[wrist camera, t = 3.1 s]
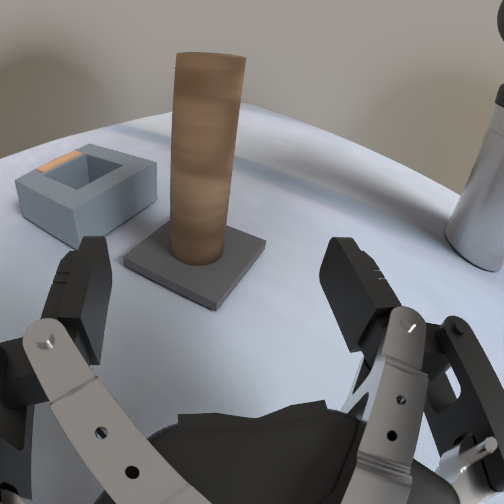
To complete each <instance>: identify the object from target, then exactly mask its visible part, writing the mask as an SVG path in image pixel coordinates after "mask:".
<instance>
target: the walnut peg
mask: <svg viewBox="0 0 504 504" xmlns="http://www.w3.org/2000/svg"><path fill="white" fill-rule="evenodd" d="M245 63H246V57H242V56H236V55H229V54H219V53H201V52H187V53H177V56H176V67H175V80H174V95H173V97H174V98H173V113H172V136H171V177H170V222H171V252H172V254H173V256H174V257H175V258H176V259H177V260H179V261H181V262H182V263H185V264H188V265H195V266H202V265H208V264H211V263H214V262H216V261H217V260H219V259H220V258H221V256H222V255H223V252H224V242H225V232H226V222H227V213H228V203H229V194H230V185H231V176H232V167H233V158H234V150H235V142H236V133H237V125H238V117H239V109H240V101H241V94H242V86H243V78H244V71H245Z"/></svg>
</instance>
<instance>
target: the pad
mask: <svg viewBox="0 0 504 504" xmlns="http://www.w3.org/2000/svg"><path fill="white" fill-rule="evenodd" d="M265 245H266V240H263V239H260V238H258V237H255V236H253V235H250V234H247V233H245V232H242V231H240V230H237V229H234V228H232V227H229V226H226V232H225V242H224V252H223V255H222V256H221V258H220V259H219V260H217V261H216V262H214V263H211V264H208V265H202V266H195V265H188V264H185V263H182V262H181V261H179V260H177V259H176V258H175V257H174V256H173V254H172V252H171V222H170V221H168V222H167V223H166V224H164V225H163V226H162V227H161V228H159V229H158V230H157V231H155V232H154V233H153V234H152V235H150V236H149V237H148V238H146V239H145V240H144V241H143V242H141V243H140V244H139V245H138V246H136V247H135V248H134V249H133V250H131V251H130V252H129V253H128V254H126V255H125V256H124V257H123V259H124V265H125V266H127V267H129V268H131V269H132V270H134V271H136V272H138V273H140V274H142V275H144V276H146V277H148V278H150V279H152V280H154V281H156V282H157V283H159V284H161V285H163V286H165V287H167V288H169V289H171V290H173V291H175V292H177V293H179V294H181V295H183V296H185V297H187V298H189V299H192V300H194V301H196V302H198V303H200V304H202V305H204V306H206V307H208V308H210V309H212V310H214V311H217V310H218V308H219V307H220V306H221V305H222V303H223V302H224V301H225V299H226V298H227V297H228V296H229V294H230V293H231V292H232V290H233V289H234V288H235V287H236V285H237V284H238V283H239V281H240V280H241V279H242V277H243V276H244V275H245V274H246V272H247V271H248V270H249V268H250V267H251V266H252V265H253V263H254V262H255V261H256V259H257V258H258V257H259V255H260V254H261V253H262V252H263V250H264V249H265Z"/></svg>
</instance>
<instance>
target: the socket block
mask: <svg viewBox="0 0 504 504" xmlns="http://www.w3.org/2000/svg"><path fill="white" fill-rule="evenodd" d="M15 184H16V189H17V193H18V197H19V201H20V205H21V209H22V213H23V216H24V217H25V218H27V219H28V220H30V221H31V222H33V223H34V224H36V225H38V226H39V227H41V228H42V229H44V230H45V231H47V232H48V233H50V234H52V235H53V236H55V237H56V238H58V239H60V240H61V241H63V242H65V243H66V244H68V245H69V246H71V247H73V248H74V249H76V250H78V248H79V246H80V243H81V240H82V238H83V236H105V235H107V234H108V233H109V232H111V231H112V230H114V229H115V228H116V227H118V226H119V225H121V224H122V223H123V222H125V221H126V220H128V219H129V218H131V217H132V216H134V215H135V214H137V213H138V212H139V211H141V210H142V209H144V208H145V207H147V206H148V205H150V204H151V203H153V202H154V201H156V200H157V163H156V162H153V161H150V160H146V159H143V158H139V157H136V156H132V155H129V154H125V153H122V152H118V151H114V150H111V149H107V148H103V147H99V146H96V145H92V144H88V145H86V146H83V147H81V148H79V149H77V150H74V151H72V152H70V153H68V154H66V155H64V156H61V157H59V158H57V159H55V160H53V161H51V162H49V163H47V164H45V165H43V166H41V167H39V168H37V169H35V170H33V171H31V172H29V173H27V174H25V175H24V176H22V177H20V178H18V179H16V180H15Z"/></svg>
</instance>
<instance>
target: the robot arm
mask: <svg viewBox="0 0 504 504" xmlns="http://www.w3.org/2000/svg"><path fill="white" fill-rule="evenodd" d="M497 25H498V30H499V33H500V36H501V37H502V39H503V41H504V0H503V1H502V3H501V5H500V7H499V11H498V16H497ZM495 103H496V104H494V108H493V111H492V114H491V117H490V120H489V124H488V127H487V130H486V133H485V136H484V139H483V141H482V144H481V147H480V150H479V152H478V155H477V158H476V161H475V163H474V166H473V168H472V171H471V173H470V176H469V178H468V180H467V183H466V185H465V188H464V190H463V192H462V195H461V197H460V199H459V201H458V203H457V205H456V208H455V210H454V212H453V214H452V216H451V218H450V221H449V223H448V225H447V227H446V229H445V234H446V237H447V239H448V241H449V242H450V244H451V245H452V246H453V247H454V248H455V249H456V250H457V251H458V252H459V253H460V254H461V255H462V256H463V257H465V258H466V259H467V260H469V261H470V262H472V263H473V264H475V265H477V266H479V267H481V268H483V269H486V270H489V271H499V270H500V269H501V268H502V267H503V265H504V84H502V85H501V86H500V88H499V90H498V93H497V97H496V100H495ZM319 279H320V284H321V286H322V288H323V291H324V293H325V295H326V298H327V300H328V302H329V304H330V307H331V309H332V311H333V314H334V316H335V318H336V321H337V323H338V325H339V328H340V330H341V332H342V335H343V337H344V339H345V342H346V344H347V347H348V349H349V351H350V353H352V352H358V351H362V353H363V355H364V356H363V357H362V359H361V361H360V363H359V366H358V369H357V372H356V375H355V378H354V381H353V384H352V387H351V389H350V392H349V395H348V397H347V400H346V402H345V404H344V406H343V407H342V409H341V410H340V411H337V410H332V409H327V406H326V403H325V400H321V401H315V402H309V403H302V404H296V405H290V406H288V407H285V408H283V409H280V410H278V411H275V412H273V413H270V414H268V415H265V416H262V417H259V418H247V417H240V416H233V415H226V414H220V413H203V414H178V423H177V424H174V425H170V426H168V427H165V428H163V429H161V430H159V431H157V432H155V433H154V434H152V435H151V436H150V437H148V438H147V439H146V438H145V437H144V436H143V434H142V433H141V432H140V431H139V430H138V428H137V427H136V426H135V425H134V424H133V422H132V421H131V420H130V419H129V417H128V416H127V415H126V414H125V412H124V411H123V410H122V408H121V407H120V406H119V405H118V403H117V402H116V401H115V399H114V398H113V397H112V395H111V394H110V393H109V391H108V390H107V388H106V387H105V386H104V384H103V383H102V382H101V380H100V379H99V378H98V377H97V376H95V375H94V373H93V372H92V370H91V369H90V365H100V359H101V351H102V343H103V336H104V329H105V323H106V316H107V310H108V304H109V299H110V293H111V287H112V270H111V265H110V260H109V254H108V248H107V242H106V238H105V236H83V238H82V240H81V243H80V246H79V248H78V251H69V252H68V253H67V254H66V255H65V257H64V258H63V259H62V260H61V261H60V264H59V266H58V269H57V271H56V275H55V277H54V280H53V284H52V285H51V288H50V291H49V294H48V297H47V300H46V303H45V306H44V309H43V312H42V316H41V319H40V320H38V321H36V322H34V323H33V324H31V325H30V326H29V327H28V329H27V330H26V332H25V334H24V337H21V338H18V339H14V340H10V341H6V342H1V343H0V504H37V503H35V502H34V501H32V492H31V448H32V428H33V415H34V404H38V403H43V402H47V401H50V403H51V404H50V407H51V409H52V411H53V413H54V415H55V417H56V418H57V420H58V422H59V423H60V425H61V427H62V428H63V430H64V432H65V433H66V435H67V437H68V438H69V440H70V441H71V443H72V444H73V446H74V447H75V449H76V450H77V452H78V453H79V455H80V456H81V458H82V459H83V461H84V462H85V464H86V465H87V466H88V468H89V469H90V471H91V472H92V473H93V475H94V476H95V477H96V479H97V480H98V481H99V483H100V484H101V485H102V487H103V488H104V489H105V490H104V491H103V493H102V494H101V495H100V496H99V498H98V499H97V500H96V501H95V503H94V504H479V503H481V502H482V501H484V500H486V499H488V498H491V497H493V496H495V495H498V494H500V493H502V492H504V389H503V387H502V385H501V383H500V381H499V379H498V377H497V375H496V373H495V371H494V369H493V367H492V365H491V363H490V361H489V360H488V358H487V356H486V354H485V352H484V350H483V348H482V347H481V345H480V343H479V341H478V339H477V338H476V336H475V334H474V332H473V331H472V329H471V327H470V326H469V325H468V323H467V322H466V321H464V320H463V319H461V318H459V317H457V316H449V317H447V318H446V319H445V320H444V322H443V323H442V324H441V325H437V324H431V323H425V321H424V319H423V318H422V316H421V315H420V314H419V313H418V312H416V311H415V310H413V309H411V308H409V307H405V306H402V305H401V303H400V301H399V300H398V298H397V296H396V295H395V293H394V291H393V290H392V288H391V287H390V285H389V283H388V282H387V280H386V279H385V277H384V275H383V274H382V272H381V271H380V269H379V267H378V266H377V264H376V263H375V261H374V259H372V258H371V257H370V256H369V255H368V254H367V253H365V252H364V251H361V250H360V249H359V247H358V245H357V244H356V242H355V241H354V239H353V238H350V237H332V238H331V239H330V241H329V244H328V247H327V250H326V253H325V256H324V259H323V261H322V264H321V267H320V272H319ZM450 367H452V369H453V371H454V373H455V375H456V377H457V380H458V382H459V384H460V387H461V393H460V396H459V398H458V399H457V398H456V396H455V393H454V391H453V389H452V387H451V384H450V382H449V380H448V378H447V376H446V373H445V372H446V371H447V370H448V369H449V368H450ZM423 411H424V413H425V416H426V419H427V421H428V424H429V427H430V429H431V432H432V435H433V438H434V441H435V444H436V446H437V449H438V452H439V455H440V458H441V459H440V462H439V467H437V468H436V470H435V472H433V471H431V470H430V469H428V468H427V467H425V466H424V465H423V464H421V463H420V462H418V461H417V460H415V459H414V458H413V457H414V453H415V449H416V444H417V440H418V435H419V431H420V426H421V421H422V416H423Z"/></svg>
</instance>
